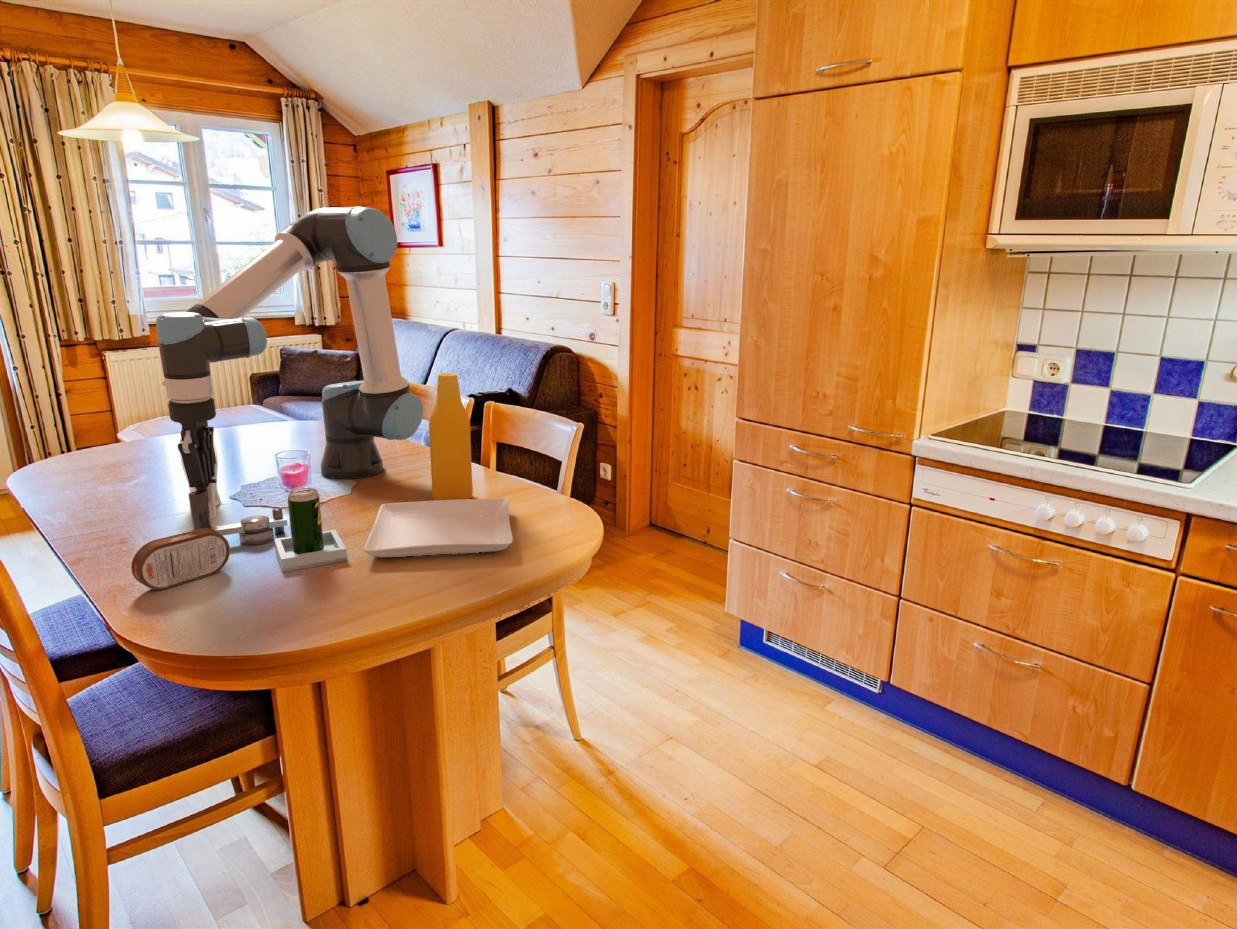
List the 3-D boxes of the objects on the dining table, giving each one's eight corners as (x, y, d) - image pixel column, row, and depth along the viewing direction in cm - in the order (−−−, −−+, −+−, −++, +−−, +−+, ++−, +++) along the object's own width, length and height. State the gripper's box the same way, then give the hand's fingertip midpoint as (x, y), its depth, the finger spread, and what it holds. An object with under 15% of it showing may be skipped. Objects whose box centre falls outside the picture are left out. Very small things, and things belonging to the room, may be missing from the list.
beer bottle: (431, 505, 169) (425, 378, 161) (432, 493, 177) (426, 371, 170) (473, 504, 171) (469, 377, 163) (472, 491, 179) (468, 371, 171)
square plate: (508, 512, 167) (508, 496, 166) (513, 560, 141) (513, 541, 140) (382, 517, 162) (381, 500, 161) (363, 568, 136) (361, 548, 135)
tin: (226, 565, 135) (220, 521, 133) (235, 569, 133) (229, 525, 131) (134, 593, 124) (126, 545, 121) (142, 598, 122) (134, 550, 120)
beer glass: (208, 510, 163) (199, 443, 158) (180, 508, 164) (170, 441, 160) (230, 501, 169) (222, 436, 165) (203, 498, 170) (194, 434, 166)
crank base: (283, 530, 152) (281, 507, 151) (287, 540, 147) (285, 516, 146) (177, 546, 143) (173, 521, 142) (177, 557, 138) (173, 532, 137)
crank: (284, 519, 151) (280, 479, 149) (288, 527, 147) (284, 485, 145) (193, 533, 143) (187, 490, 141) (195, 542, 139) (189, 498, 137)
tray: (336, 541, 147) (335, 529, 147) (347, 560, 138) (346, 548, 137) (275, 550, 142) (274, 538, 141) (282, 571, 133) (281, 559, 132)
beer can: (295, 560, 136) (289, 497, 133) (291, 550, 141) (284, 489, 137) (326, 555, 139) (321, 493, 136) (321, 545, 143) (316, 485, 140)
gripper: (180, 390, 143) (197, 505, 151) (155, 406, 132) (175, 530, 139) (222, 390, 145) (237, 504, 152) (201, 406, 133) (219, 528, 140)
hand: (207, 516), depth 145 cm, fingers closed
